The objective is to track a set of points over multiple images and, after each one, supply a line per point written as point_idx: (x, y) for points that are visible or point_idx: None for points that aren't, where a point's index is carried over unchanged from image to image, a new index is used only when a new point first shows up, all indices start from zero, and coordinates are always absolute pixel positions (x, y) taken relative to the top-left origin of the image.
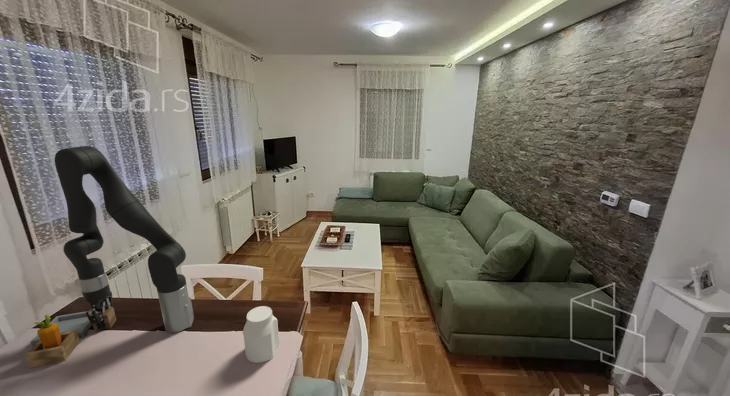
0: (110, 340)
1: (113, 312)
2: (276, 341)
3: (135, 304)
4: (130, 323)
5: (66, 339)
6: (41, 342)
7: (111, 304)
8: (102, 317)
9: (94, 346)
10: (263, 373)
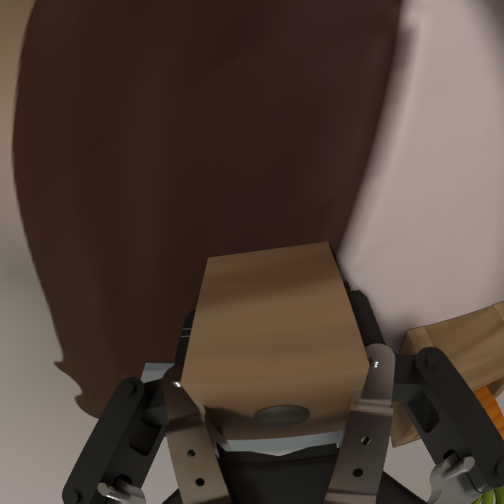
0: (480, 165)
1: (215, 328)
2: None
3: (29, 228)
4: (294, 88)
5: (489, 380)
6: None
7: (138, 402)
8: (374, 373)
9: (488, 236)
10: None
